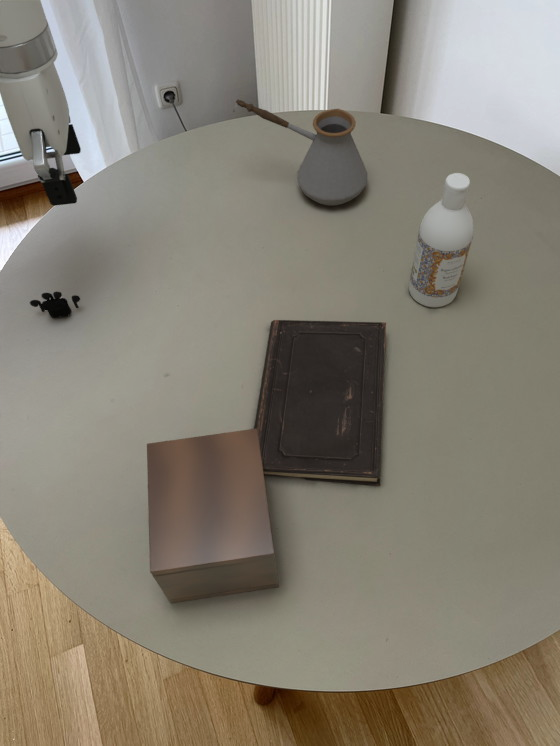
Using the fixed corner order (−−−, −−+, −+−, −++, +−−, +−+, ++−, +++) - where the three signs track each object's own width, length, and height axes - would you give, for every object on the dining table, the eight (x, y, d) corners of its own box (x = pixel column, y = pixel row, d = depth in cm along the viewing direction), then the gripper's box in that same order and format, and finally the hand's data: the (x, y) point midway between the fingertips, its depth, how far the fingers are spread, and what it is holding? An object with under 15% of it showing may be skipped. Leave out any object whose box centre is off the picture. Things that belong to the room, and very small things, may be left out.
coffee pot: (371, 171, 110) (378, 90, 98) (360, 218, 104) (367, 137, 92) (249, 158, 113) (242, 77, 101) (232, 202, 107) (222, 121, 95)
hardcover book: (385, 332, 90) (386, 322, 88) (379, 485, 78) (380, 477, 76) (272, 329, 93) (270, 319, 91) (248, 477, 80) (245, 469, 78)
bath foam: (419, 314, 92) (443, 205, 76) (400, 279, 96) (420, 168, 80) (464, 302, 93) (497, 192, 77) (444, 269, 97) (472, 157, 81)
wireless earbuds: (86, 308, 95) (75, 285, 91) (85, 321, 94) (74, 299, 90) (38, 313, 95) (25, 291, 91) (36, 327, 94) (23, 304, 89)
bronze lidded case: (170, 603, 71) (149, 572, 62) (165, 486, 79) (146, 443, 70) (278, 587, 72) (274, 553, 62) (263, 472, 79) (257, 428, 70)
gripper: (-9, 8, 73) (42, 138, 87) (-30, 96, 64) (31, 227, 78) (58, 1, 74) (98, 132, 88) (47, 88, 64) (94, 220, 78)
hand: (66, 177), depth 83 cm, fingers open, 9 cm apart
